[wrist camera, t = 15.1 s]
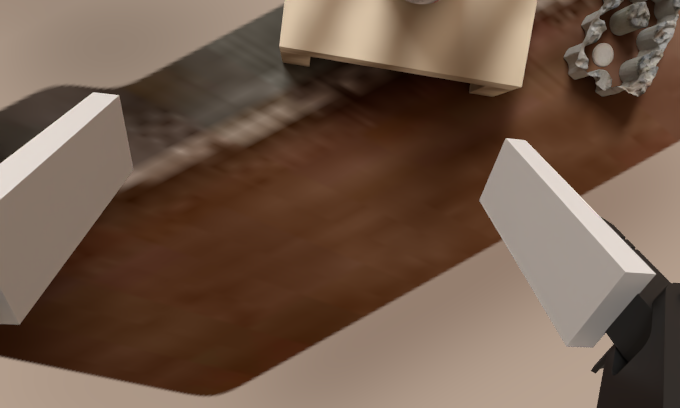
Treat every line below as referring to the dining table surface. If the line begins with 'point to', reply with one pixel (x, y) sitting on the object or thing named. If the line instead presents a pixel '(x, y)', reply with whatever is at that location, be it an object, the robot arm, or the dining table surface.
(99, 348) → the dining table surface
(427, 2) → the soda can
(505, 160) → the robot arm
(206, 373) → the dining table surface
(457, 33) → the birch stand
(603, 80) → the egg carton
